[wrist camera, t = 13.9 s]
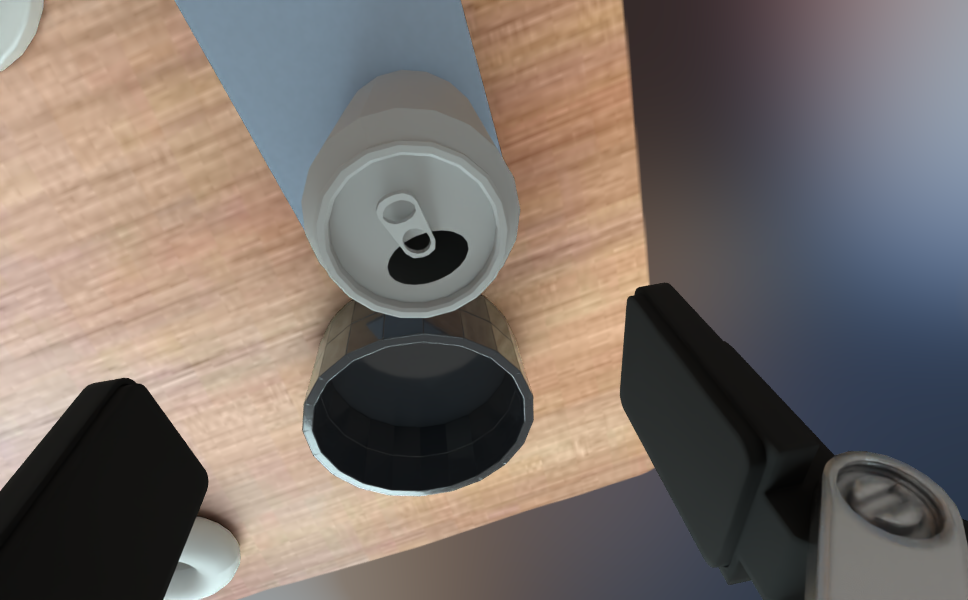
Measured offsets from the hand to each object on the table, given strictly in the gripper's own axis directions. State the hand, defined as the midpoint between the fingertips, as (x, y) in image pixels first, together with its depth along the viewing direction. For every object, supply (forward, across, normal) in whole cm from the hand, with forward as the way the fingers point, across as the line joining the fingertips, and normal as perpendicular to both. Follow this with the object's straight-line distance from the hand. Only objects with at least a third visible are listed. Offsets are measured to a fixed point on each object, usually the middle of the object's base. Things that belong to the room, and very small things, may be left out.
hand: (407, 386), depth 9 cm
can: (+19, 0, 0) cm, 19 cm away
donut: (+19, +26, +30) cm, 44 cm away
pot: (+19, +2, +15) cm, 24 cm away
